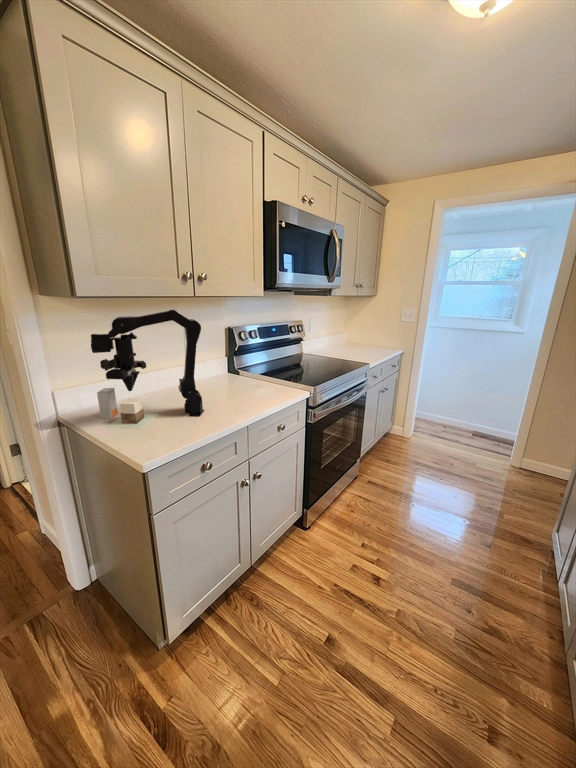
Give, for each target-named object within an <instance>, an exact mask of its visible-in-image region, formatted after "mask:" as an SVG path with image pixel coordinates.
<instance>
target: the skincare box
mask: <svg viewBox="0 0 576 768" xmlns="http://www.w3.org/2000/svg"><path fill="white" fill-rule="evenodd" d="M115 390H116V389H115V387H103V388H102V389H100V390H99V391H97V392H96V395H97V400H98V408H99V415H100V419H101V420H103V419H106V420H107V419H113V418H114V417H116V416H117V414H118V413H119V411H118V406H117V399H116V392H115Z"/></svg>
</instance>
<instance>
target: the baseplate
mask: <svg viewBox="0 0 576 768" xmlns="http://www.w3.org/2000/svg"><path fill="white" fill-rule="evenodd" d="M157 416H159V413H144V419H142V420H141V421H140V422H139V423H137V424H129V423H122V420H121V416H119V417H118V418H117V419H115V420H114V421H113V422H111V423H110V424H108V425H107V426H106V428H111V429H113V428H116V429H143V428H144V427H146V426H147V425H148V424H149V423H151V422H152V421H153V420H154V419H156V417H157Z"/></svg>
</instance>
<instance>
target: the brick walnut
mask: <svg viewBox="0 0 576 768" xmlns="http://www.w3.org/2000/svg"><path fill="white" fill-rule="evenodd" d="M144 414H145V411H144V408H142V409H141V410H140V411H139V412H137V413H136V414H123V413H121V412H120V417H121V420H122V423H129V424H137V423H139V422H140V421H141V420H142V419H144Z"/></svg>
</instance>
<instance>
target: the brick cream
mask: <svg viewBox="0 0 576 768" xmlns="http://www.w3.org/2000/svg"><path fill="white" fill-rule="evenodd" d="M119 405H120V414H121V413H123V414H136V413H137V412H139V411H140V410H141V409H143V402H142V399H139V398H138V399H137V398H127V399H125V400H124V401H123V402H121V403H119Z"/></svg>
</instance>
